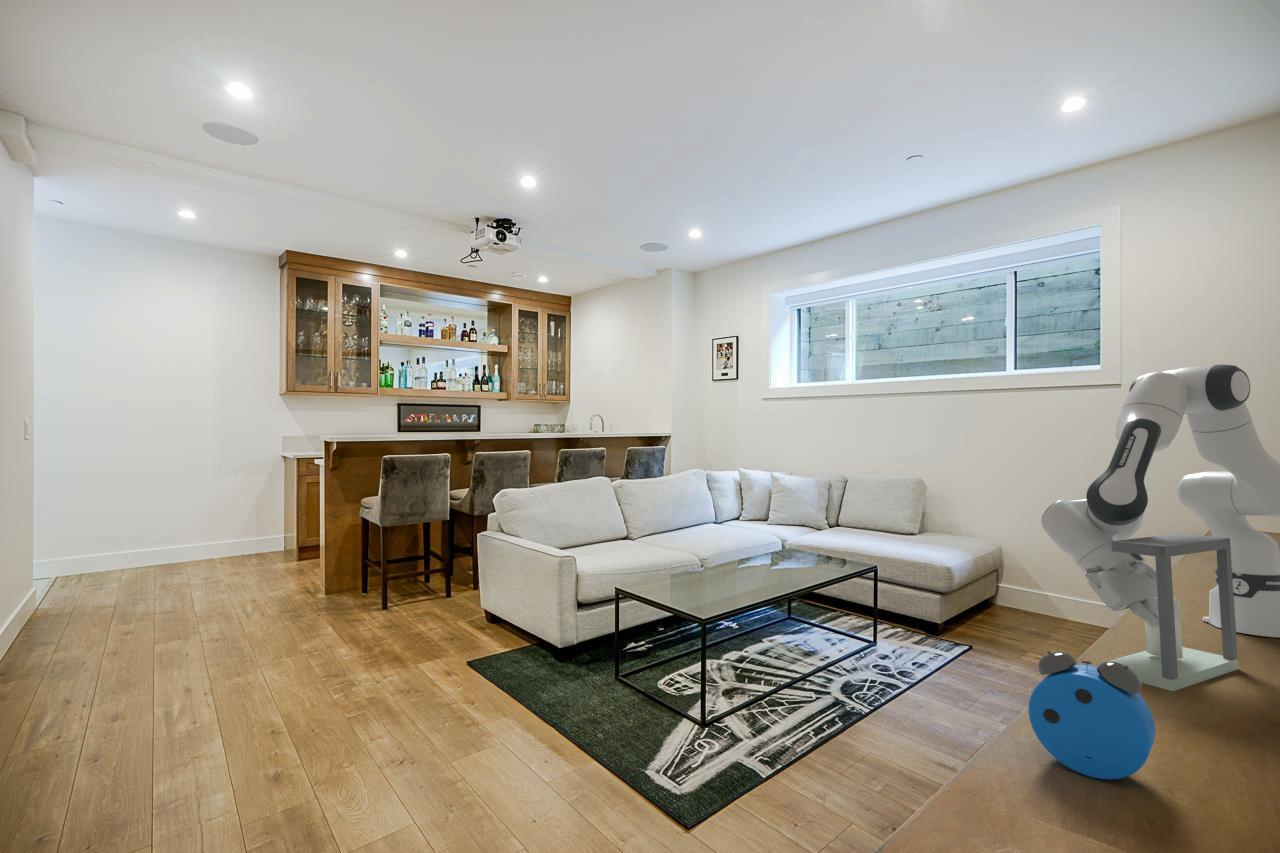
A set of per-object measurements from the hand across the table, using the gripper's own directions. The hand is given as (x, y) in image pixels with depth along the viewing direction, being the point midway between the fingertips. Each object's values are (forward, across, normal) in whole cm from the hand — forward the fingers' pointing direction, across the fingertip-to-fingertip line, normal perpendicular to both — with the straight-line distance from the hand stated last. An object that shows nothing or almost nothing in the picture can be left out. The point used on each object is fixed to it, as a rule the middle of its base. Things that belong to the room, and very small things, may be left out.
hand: (1166, 622), depth 119 cm
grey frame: (+7, 0, +6) cm, 9 cm away
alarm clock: (+17, -57, -4) cm, 60 cm away
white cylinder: (+4, 0, +5) cm, 6 cm away
